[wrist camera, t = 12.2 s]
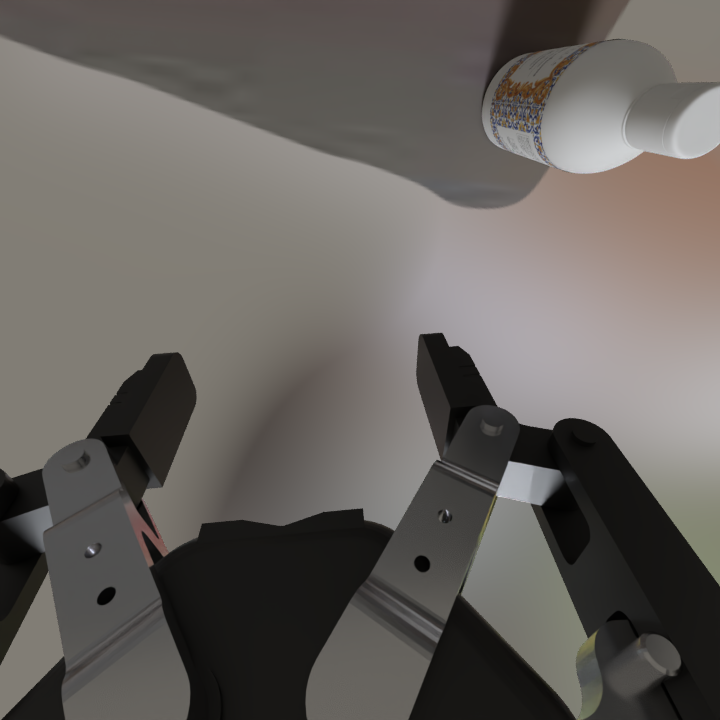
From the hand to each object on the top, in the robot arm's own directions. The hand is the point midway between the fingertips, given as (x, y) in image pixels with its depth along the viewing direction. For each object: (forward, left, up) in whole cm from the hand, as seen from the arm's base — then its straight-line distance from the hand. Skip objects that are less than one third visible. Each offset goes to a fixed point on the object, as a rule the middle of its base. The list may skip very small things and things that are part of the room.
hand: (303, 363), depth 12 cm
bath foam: (-18, +7, -28) cm, 34 cm away
